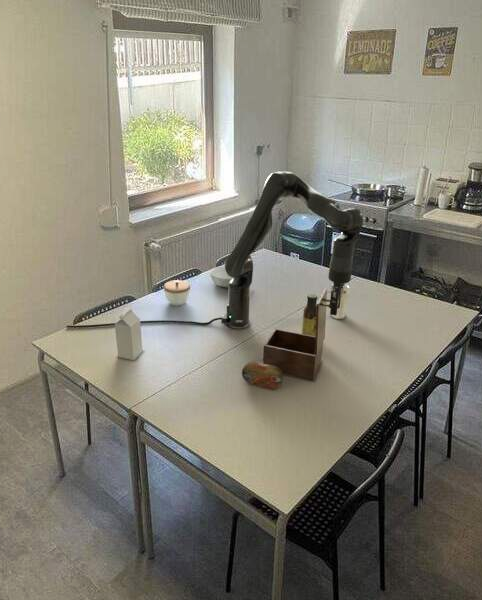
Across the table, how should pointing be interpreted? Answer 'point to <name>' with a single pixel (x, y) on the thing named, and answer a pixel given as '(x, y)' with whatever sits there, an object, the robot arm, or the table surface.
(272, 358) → the chest
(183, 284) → the lidded bowl
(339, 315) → the milkshake glass
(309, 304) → the sauce bottle
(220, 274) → the cereal bowl
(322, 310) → the lid
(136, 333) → the milk carton
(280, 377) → the tin
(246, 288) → the robot arm
